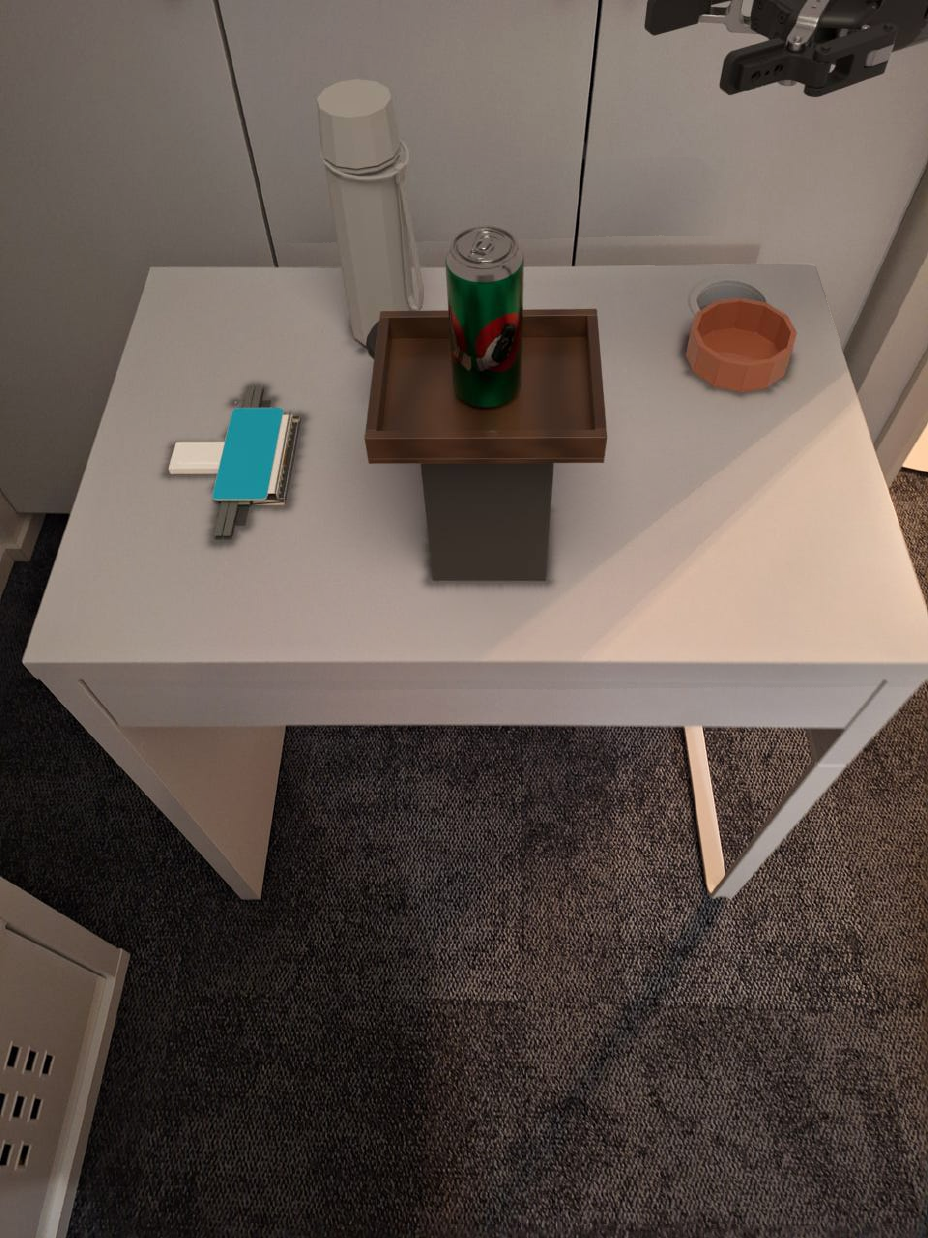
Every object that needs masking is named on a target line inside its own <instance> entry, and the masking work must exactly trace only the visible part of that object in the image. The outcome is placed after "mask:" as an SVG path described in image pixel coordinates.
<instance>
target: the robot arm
mask: <svg viewBox="0 0 928 1238" xmlns="http://www.w3.org/2000/svg"><path fill="white" fill-rule="evenodd" d="M728 2H729V4H728V6H726V7H724V6H715V5H719V4H722V3H728ZM743 3H744V0H647V1H646V6H645V7H646V9H645V17H644V25H643V26H644V30H645V31H646V32H647V33H649V34H650V35H651V36H658V35H662V34H666V33H669V32H673V31H677V30H679V29H683V28H687V27H690V26H693V25H698V24H699V23H707V24H723V25H724V26H725V28H726V30H727V31H728V32H729V33H732V34H749V35H751V34H752V35H760V36H762V37H765V38H767V39H768V40H765V41H761V42H758V43H755V44H751V45H748V46H747V45H746V46H744V47H741V48H737V49H734V50H731V51H730V52H728V53H727V54H726V56H725V57H724V59H723V63H722V68H721V74H720V79H719V85H718V86H719V89H720V90H721V91H722V92H723V93H725V94H726V95H728V96H733V95H736V94H739V93H743V92H748V91H752V90H755V89H758V88H762V87H766V86H769V85H773V84H776V83H777V84H778V85H780V86H782V87H794V86H795V85H797V84H798V83H799V84H801V85H804V87H803V94H804V95H806V96H808V97H811V98H819V97H823V96H825V95H828V94H830V93H834V92H836V91H839V90H842V89H846V88H847V87H850V86H853V85H856V84H859V83H862V82H864V81H867V80H870V79H873V78H876V77H878V76H881V75H884V74H885V72H886V70H887V66H888V64H889V60H890V58H891V55H892V53H895V52H898V51H901V50H904V49H908V48H911V47H913V46H917V45H921V44H925V43H927V42H928V0H753V2H752V5H751V11H750V15H749V16H748V15H744V14H743V13H742V8H743ZM713 5H714V6H713ZM832 65H833V66H834V68H833V69H832V70H831V68H832Z"/></svg>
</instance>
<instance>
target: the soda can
mask: <svg viewBox="0 0 928 1238" xmlns="http://www.w3.org/2000/svg"><path fill="white" fill-rule="evenodd" d="M449 246H450V247H449V251H448V252H447V254H446V255H445V256H446V257H445V261H444V264H445V281H446V294H447V295H446V296H447V297H446V298H447V310H448V315H449V331H450V348H451V364H452V381H453V389H454V391H455V393H456V395H457V396H458V397H459V398H460V399H461V400H463V401H464V402H466V403H467V404H469V405H471V406H474V407H477V408H483V409H489V408H496V407H499V406H502V405H504V404H506V403H507V402H509V401H510V400H512V399H513V398H514V397H515V396H516V395H517V394H518V392H519V390H520V388H521V372H522V323H523V310H524V274H525V273H524V267H525V265H524V264H525V257H524V254H523V251H522V250H521V249H520V248H519V242H518V239H517V238H516V236H515V234H513V233H512V231H509V230H508V229H506V228H504V227H500V226H496V225H490V224H486V225H485V224H482V225H475V226H470V227H467V228H465V229H463V230H461V231H459V232H458V233H457V234H456V235H455V236H454V237H453V238H452V240H451V241H450V245H449Z"/></svg>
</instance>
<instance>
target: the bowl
mask: <svg viewBox="0 0 928 1238" xmlns="http://www.w3.org/2000/svg"><path fill="white" fill-rule="evenodd" d="M797 333H798V332H797V330H796V328H795V326H794V325H793V323H792V321H791V319H790V317H789V316H788V315H787V314H786V313H784V312H783V311H781V310H780V309H778V308H776V307H775V306H773V305H772V304H770V303H768V302H765V301H760V300H755V299H749V298H745V297H735V298H734V297H733V298H726V299H720V300H719V299H718V300H715V301H713V302H711V303H710V304H708V305H706V306H705V307H702V308H701V309H700V310H698V311H697V312H696V314H695V317H694V320H693V323H692V326H691V328H690V334H689V338H688V343H687V347H686V351H685V357H686V359H687V361H688V364H689V366H690V368H691V370H692V372H693V374H695V375H697V376H698V377H699V378H701V379H702V380H704V382H706V383H708V384H710V385H711V386H713V387H715V388H720V389H725V390H729V391H734V392H738V393H741V392H751V391H757V390H762V389H767V388H769V387H770V386H772V385H773V384H774V383H776V382H777V381H779V380H780V379H782V378H783V377H784V376H785V373H786V370H787V368H788V364H789V361H790V358H791V356H792V352H793V349H794V345H795V342H796V337H797Z"/></svg>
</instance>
